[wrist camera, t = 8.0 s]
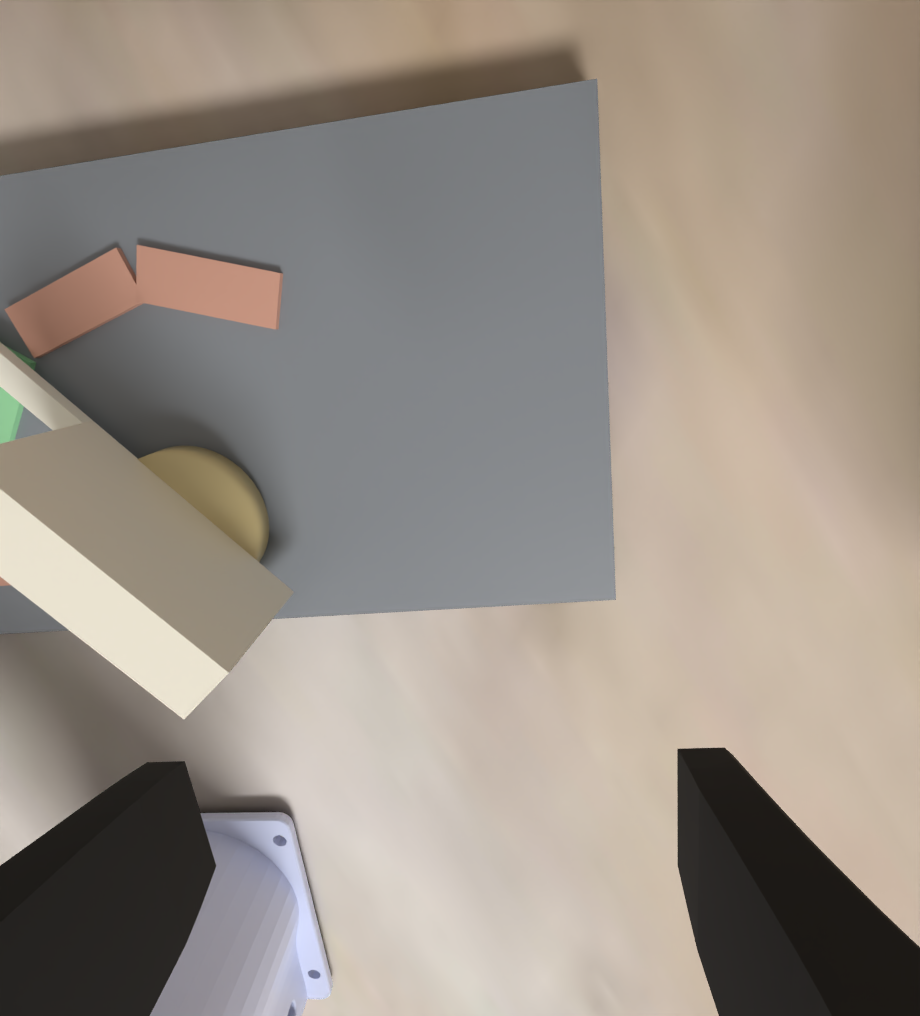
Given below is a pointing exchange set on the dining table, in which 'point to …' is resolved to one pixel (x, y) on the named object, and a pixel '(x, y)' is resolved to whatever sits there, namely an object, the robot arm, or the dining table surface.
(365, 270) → the tuner board
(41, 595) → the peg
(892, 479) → the dining table surface
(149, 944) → the robot arm
